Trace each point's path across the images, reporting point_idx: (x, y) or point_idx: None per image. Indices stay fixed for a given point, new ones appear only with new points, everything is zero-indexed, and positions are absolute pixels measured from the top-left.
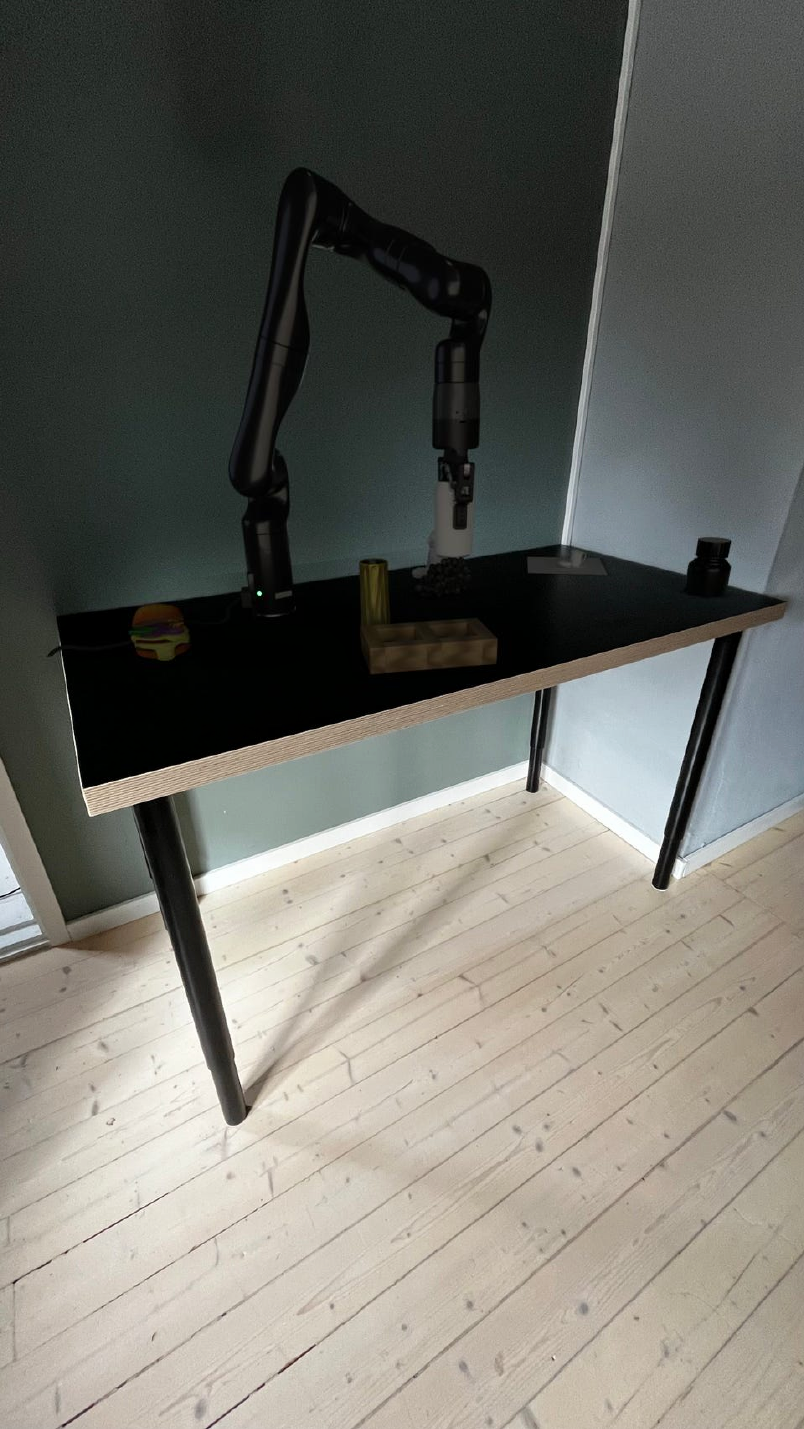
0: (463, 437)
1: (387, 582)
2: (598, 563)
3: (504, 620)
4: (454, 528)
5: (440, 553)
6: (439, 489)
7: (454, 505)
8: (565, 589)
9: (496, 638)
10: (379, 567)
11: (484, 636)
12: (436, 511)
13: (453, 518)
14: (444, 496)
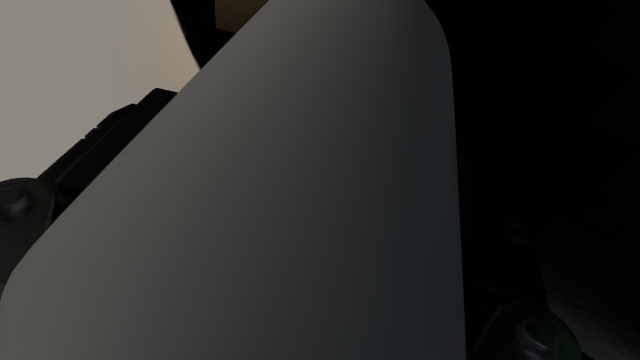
0: None
1: None
2: None
3: (502, 172)
4: (159, 90)
5: None
6: (93, 267)
7: (28, 180)
8: (595, 353)
9: (218, 26)
10: None
11: (238, 5)
12: (263, 77)
13: (129, 122)
14: (67, 209)
